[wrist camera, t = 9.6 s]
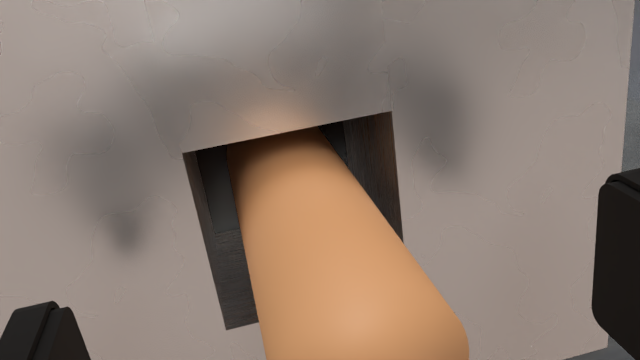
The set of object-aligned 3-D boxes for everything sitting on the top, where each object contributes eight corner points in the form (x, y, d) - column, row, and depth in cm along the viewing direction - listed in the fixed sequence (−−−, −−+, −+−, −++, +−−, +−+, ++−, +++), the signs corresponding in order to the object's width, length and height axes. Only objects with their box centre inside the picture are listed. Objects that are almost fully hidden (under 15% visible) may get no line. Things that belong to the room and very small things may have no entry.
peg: (317, 97, 17) (465, 266, 8) (330, 187, 18) (472, 423, 9) (216, 116, 17) (256, 317, 8) (237, 208, 18) (291, 476, 9)
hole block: (515, -103, 16) (644, -120, 12) (515, 261, 21) (607, 347, 17) (-94, -10, 14) (-224, 12, 9) (62, 374, 19) (25, 510, 14)
